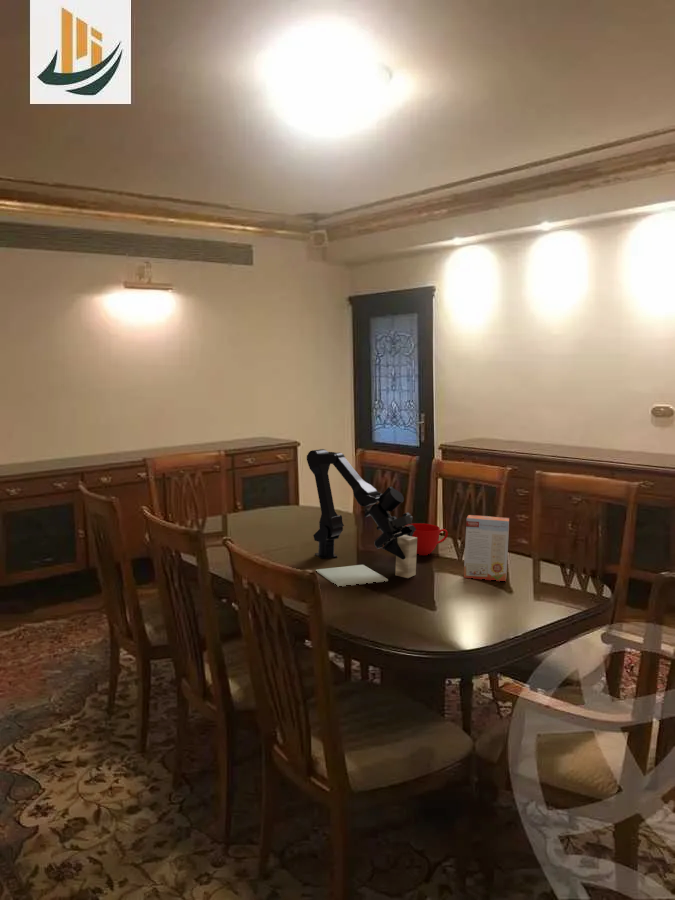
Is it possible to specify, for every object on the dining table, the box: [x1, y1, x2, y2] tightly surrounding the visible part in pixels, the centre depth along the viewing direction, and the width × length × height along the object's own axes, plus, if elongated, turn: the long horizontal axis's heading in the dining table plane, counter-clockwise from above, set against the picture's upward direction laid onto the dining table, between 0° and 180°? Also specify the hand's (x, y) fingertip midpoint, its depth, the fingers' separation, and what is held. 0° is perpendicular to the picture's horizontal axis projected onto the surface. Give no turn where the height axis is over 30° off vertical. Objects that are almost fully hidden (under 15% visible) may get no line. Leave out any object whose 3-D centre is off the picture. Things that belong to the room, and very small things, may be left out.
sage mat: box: [315, 564, 389, 588], centre depth 243 cm, size 18×18×1 cm
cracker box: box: [463, 514, 510, 582], centre depth 245 cm, size 14×6×21 cm, turn 74°
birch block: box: [394, 535, 418, 579], centre depth 246 cm, size 5×5×13 cm
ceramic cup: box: [406, 522, 449, 556], centre depth 275 cm, size 13×17×10 cm
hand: (409, 556), depth 245 cm, fingers open, 7 cm apart
